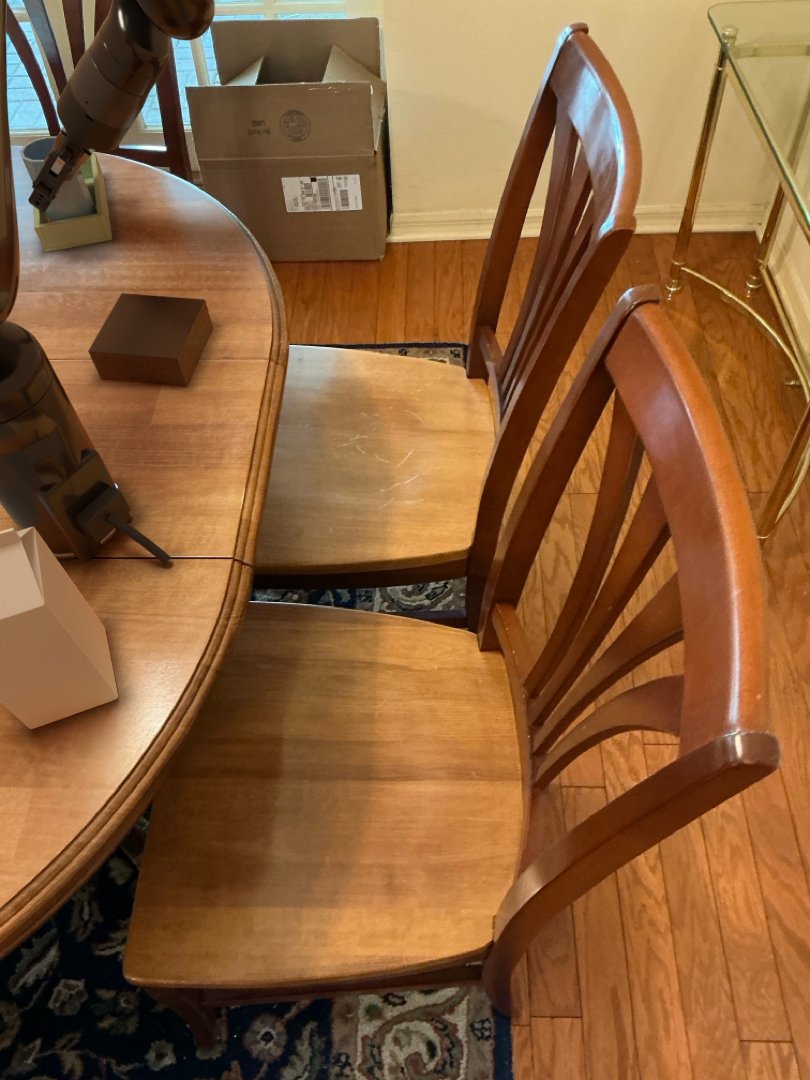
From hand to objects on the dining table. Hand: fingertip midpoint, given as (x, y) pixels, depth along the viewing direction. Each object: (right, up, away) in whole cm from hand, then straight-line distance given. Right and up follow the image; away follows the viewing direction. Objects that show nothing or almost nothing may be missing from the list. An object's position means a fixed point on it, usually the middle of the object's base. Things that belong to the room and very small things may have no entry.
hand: (50, 187), depth 98 cm
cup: (+1, -3, +4) cm, 5 cm away
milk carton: (+17, -57, -34) cm, 69 cm away
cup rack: (0, 0, +7) cm, 7 cm away
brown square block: (+17, -24, -11) cm, 31 cm away
